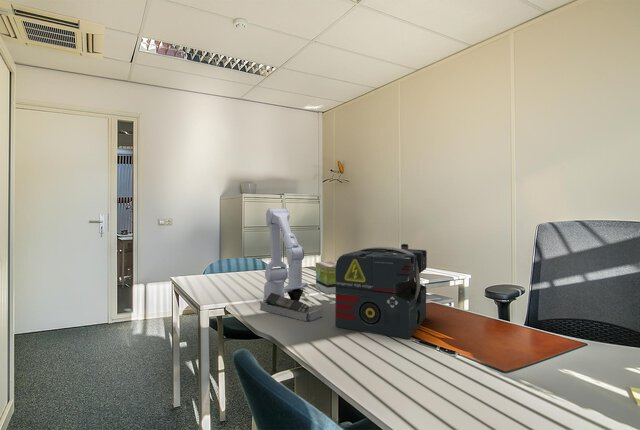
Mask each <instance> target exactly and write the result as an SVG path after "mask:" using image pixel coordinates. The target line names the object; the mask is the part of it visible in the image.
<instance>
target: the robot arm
mask: <svg viewBox="0 0 640 430" xmlns="http://www.w3.org/2000/svg"><path fill="white" fill-rule="evenodd" d="M289 220H290V211H289V209H288V208H285V207H284V208H270V207H268V208H267V210H266V212H265V224H266V227H269V239H270V240H269V241H270V243H269V244H270V262H269V263H268V264H267V265H266V266H265V270H264V271H265V273H264V277H265V278H264V279H265V280H266V282H265V283H264V287H263V294H264V295H263V298H262V300H263V301H266V299H267V298H268V296H269V295H270V294H271V293H274V294H277V295H280V296H282V297H285V294H287V295H288V297H289V299H291V300H296V301H299V302H300V301H301V296H302V295H303V293H304V290H303V289H304V288H308V282H305V281H302V280H303V274H302V273H303V265H302V263H303V260H304V258H305V250H304V247H303V246H301V244H300V243H298V240H297V237H296V235H295V233H292V230H291V226H290V222H289ZM281 233H282V234H283V237H282V241H283V244H284V247H285V250H286V253H285V256H286V261H287V264H286V263H285V262H283V260H282V247H281V246H282V244H281V243H282V241H281ZM287 265H288V267H287ZM287 280H288V284H287V285H286V286H285V283H286V281H287Z"/></svg>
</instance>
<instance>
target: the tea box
mask: <svg viewBox="0 0 640 430" xmlns="http://www.w3.org/2000/svg"><path fill="white" fill-rule="evenodd" d="M315 289H317V290H319V291H321V292H322V293H324V294H326V295H336V262H335V261H322V262H319V261H318V262H315Z"/></svg>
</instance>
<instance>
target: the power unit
mask: <svg viewBox="0 0 640 430" xmlns="http://www.w3.org/2000/svg"><path fill="white" fill-rule="evenodd" d="M427 253H428V251H427V249H415V248H409V244H408V243H401V245H400V248H399V247H391V246H369V247H365V248H362V249H359V250H356V251H351V252H347V253H344V254H341V256H339V257H338V259H336V262H335V263H336V294H335V307H334V308H335V312H334V313H335V314H334V315H335V320H334V322H335V324H334V325H335V327H336V328H341V329H346V330H352V331H353V330H354V331H357V332H364V333H370V334H375V335H381V336H387V337H393V338H397V339H403V340H410V339H411V337H412V336H413V334H414V333H415V332H416V331H417V330H418V329H419V327H420V326H421V325H422V323H423V322H424V321H425V320H426V318H427V286H426V285H423V284H421V278H420V274H421V273H423V272H424V271H425V270H427Z"/></svg>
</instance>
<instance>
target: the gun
mask: <svg viewBox="0 0 640 430" xmlns="http://www.w3.org/2000/svg"><path fill="white" fill-rule="evenodd" d="M265 301H267V303H268V304H272V305H277V306H281V307H285V308H289V309H294V310H298V311H302V312H306V313H309V309H310V306H309V304H307V303H304V302H302V301H300V300H299V301H296V300H291V299H290V298H288V297H285V296H284V297H282V296H280V295H277V294H274V293H271V294H270V295H269V296H268V298H267V299H266V300H265Z"/></svg>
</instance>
